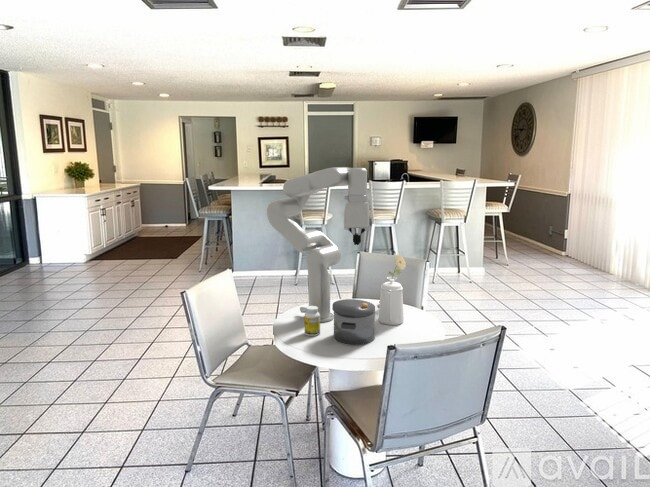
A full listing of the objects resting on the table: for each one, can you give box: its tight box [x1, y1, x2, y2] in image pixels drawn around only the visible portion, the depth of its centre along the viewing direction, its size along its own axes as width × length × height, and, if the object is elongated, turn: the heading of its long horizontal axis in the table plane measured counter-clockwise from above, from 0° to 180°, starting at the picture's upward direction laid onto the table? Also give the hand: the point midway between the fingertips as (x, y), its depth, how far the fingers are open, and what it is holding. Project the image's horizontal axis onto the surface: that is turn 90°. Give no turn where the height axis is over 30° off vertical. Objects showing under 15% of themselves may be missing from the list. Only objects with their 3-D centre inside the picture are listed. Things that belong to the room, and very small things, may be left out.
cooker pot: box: [333, 311, 376, 346], centre depth 186 cm, size 16×21×11 cm
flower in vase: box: [379, 253, 407, 304], centre depth 224 cm, size 13×11×25 cm
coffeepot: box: [377, 279, 405, 326], centre depth 202 cm, size 11×25×19 cm, turn 168°
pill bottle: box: [303, 305, 321, 337], centre depth 189 cm, size 6×6×11 cm
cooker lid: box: [331, 298, 376, 317], centre depth 184 cm, size 17×17×3 cm
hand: (356, 244), depth 192 cm, fingers closed
